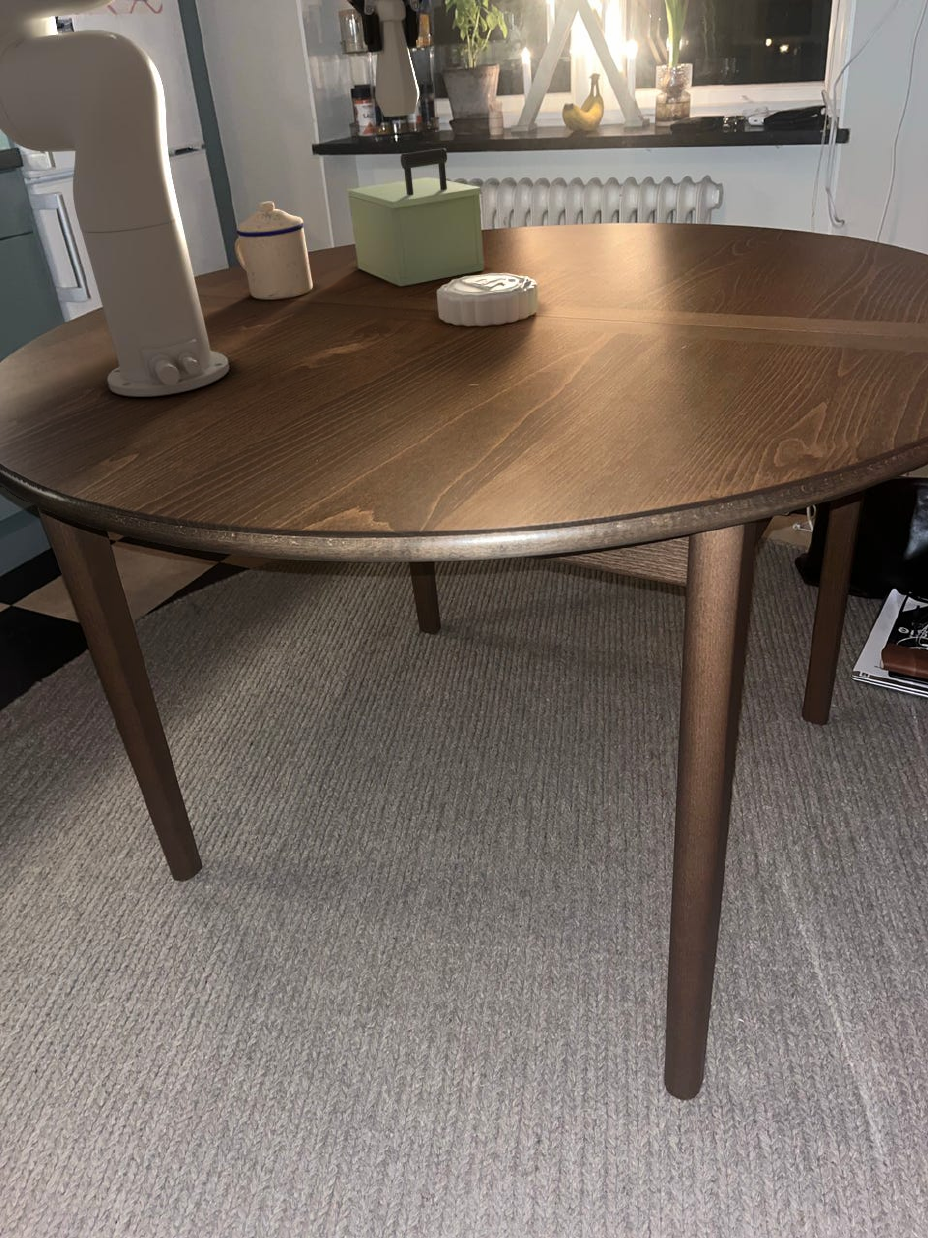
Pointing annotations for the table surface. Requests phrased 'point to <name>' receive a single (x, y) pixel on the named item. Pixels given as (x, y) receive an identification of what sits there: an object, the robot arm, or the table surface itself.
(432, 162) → the green lid with handle
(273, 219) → the teacup with lid
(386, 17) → the salt shaker
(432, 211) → the green rectangular box
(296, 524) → the table surface
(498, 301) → the mooncake
